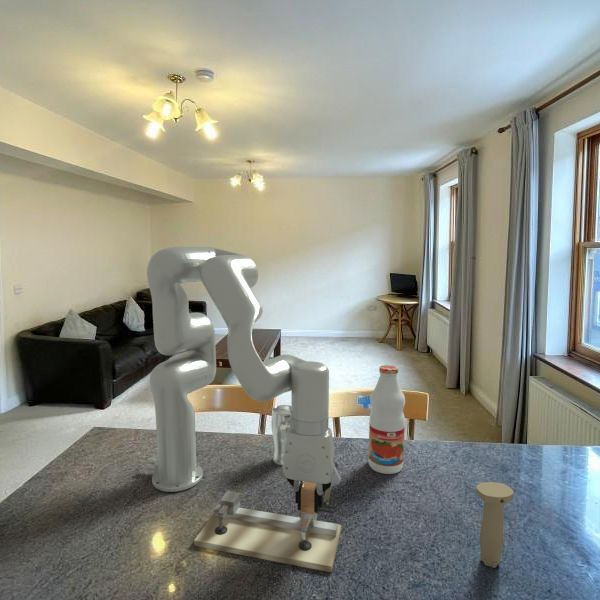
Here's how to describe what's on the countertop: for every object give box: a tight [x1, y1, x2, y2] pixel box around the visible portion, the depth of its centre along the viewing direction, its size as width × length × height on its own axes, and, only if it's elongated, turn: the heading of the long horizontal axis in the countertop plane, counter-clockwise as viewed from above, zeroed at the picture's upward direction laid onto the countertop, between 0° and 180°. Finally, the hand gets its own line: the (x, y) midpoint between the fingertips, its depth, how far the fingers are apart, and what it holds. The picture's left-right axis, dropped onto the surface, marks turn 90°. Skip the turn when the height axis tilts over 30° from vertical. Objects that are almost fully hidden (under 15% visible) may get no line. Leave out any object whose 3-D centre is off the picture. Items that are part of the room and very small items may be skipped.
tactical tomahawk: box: [319, 461, 339, 514], centre depth 104 cm, size 21×7×1 cm, turn 166°
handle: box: [475, 481, 514, 569], centre depth 79 cm, size 5×6×15 cm
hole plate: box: [193, 490, 342, 573], centre depth 86 cm, size 28×12×6 cm, turn 76°
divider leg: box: [300, 481, 318, 545], centre depth 85 cm, size 3×7×9 cm, turn 166°
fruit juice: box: [367, 364, 406, 475], centre depth 113 cm, size 9×9×28 cm
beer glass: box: [270, 404, 291, 466], centre depth 116 cm, size 7×7×15 cm
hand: (309, 506), depth 86 cm, fingers closed on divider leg, 2 cm apart
